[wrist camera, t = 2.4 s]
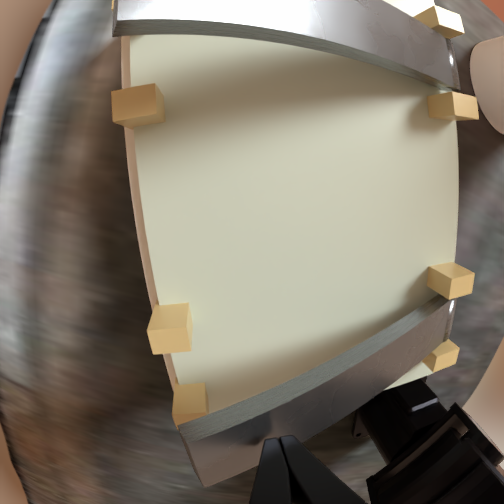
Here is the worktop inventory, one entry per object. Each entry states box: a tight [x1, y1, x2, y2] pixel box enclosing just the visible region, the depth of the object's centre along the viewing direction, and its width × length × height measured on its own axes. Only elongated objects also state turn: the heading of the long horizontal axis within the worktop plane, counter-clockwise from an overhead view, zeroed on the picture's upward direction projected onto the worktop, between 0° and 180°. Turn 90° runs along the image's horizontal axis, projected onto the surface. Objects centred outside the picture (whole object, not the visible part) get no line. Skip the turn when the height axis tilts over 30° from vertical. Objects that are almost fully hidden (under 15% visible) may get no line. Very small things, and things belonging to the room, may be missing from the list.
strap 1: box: [112, 0, 461, 92], centre depth 7 cm, size 14×2×1 cm, turn 95°
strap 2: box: [177, 293, 457, 488], centre depth 11 cm, size 14×2×1 cm, turn 95°
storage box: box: [111, 0, 479, 430], centre depth 14 cm, size 22×15×8 cm
